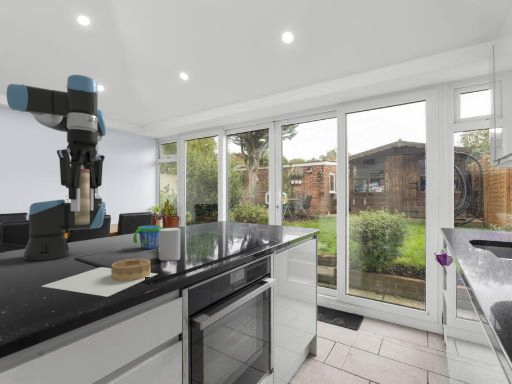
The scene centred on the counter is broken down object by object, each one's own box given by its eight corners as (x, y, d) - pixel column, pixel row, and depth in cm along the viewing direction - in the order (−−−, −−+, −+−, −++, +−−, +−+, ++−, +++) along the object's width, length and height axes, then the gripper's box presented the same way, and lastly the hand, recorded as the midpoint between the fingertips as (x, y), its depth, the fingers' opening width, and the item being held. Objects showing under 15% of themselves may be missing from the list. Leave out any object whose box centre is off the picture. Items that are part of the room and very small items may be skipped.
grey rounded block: (183, 256, 112) (183, 228, 112) (175, 261, 104) (175, 231, 104) (164, 256, 113) (164, 227, 113) (155, 261, 105) (155, 230, 105)
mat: (40, 287, 76) (40, 286, 76) (100, 268, 95) (100, 267, 95) (107, 298, 69) (107, 296, 69) (158, 275, 88) (158, 273, 88)
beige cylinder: (71, 224, 78) (72, 169, 78) (83, 223, 81) (83, 170, 81) (81, 224, 77) (81, 168, 77) (92, 223, 80) (92, 169, 80)
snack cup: (139, 252, 120) (139, 229, 120) (128, 248, 127) (128, 227, 127) (170, 246, 132) (170, 226, 132) (158, 243, 139) (158, 224, 139)
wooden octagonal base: (103, 278, 83) (103, 265, 83) (130, 268, 93) (130, 257, 93) (132, 282, 79) (132, 269, 79) (157, 272, 90) (157, 260, 90)
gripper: (63, 123, 70) (63, 213, 70) (115, 135, 85) (115, 209, 86) (43, 125, 72) (43, 212, 72) (97, 137, 88) (97, 208, 88)
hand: (82, 210), depth 79 cm, fingers closed on beige cylinder, 3 cm apart
